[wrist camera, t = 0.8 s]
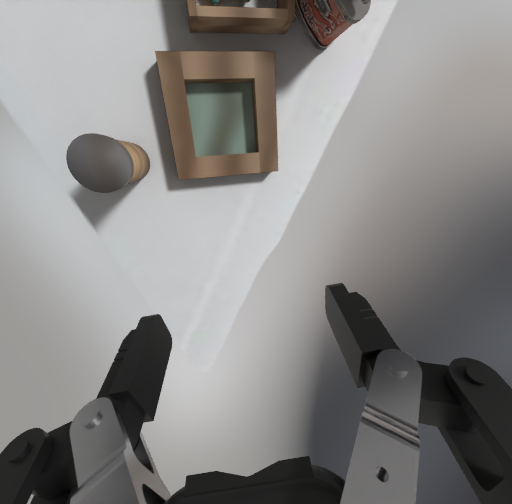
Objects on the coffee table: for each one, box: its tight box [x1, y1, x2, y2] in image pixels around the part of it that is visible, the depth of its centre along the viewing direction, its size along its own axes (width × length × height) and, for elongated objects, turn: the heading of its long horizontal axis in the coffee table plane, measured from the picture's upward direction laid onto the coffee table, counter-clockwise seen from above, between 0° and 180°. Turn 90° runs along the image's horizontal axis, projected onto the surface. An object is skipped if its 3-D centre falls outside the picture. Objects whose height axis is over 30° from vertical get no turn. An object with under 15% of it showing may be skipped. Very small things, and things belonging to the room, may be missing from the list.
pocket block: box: [155, 51, 278, 180], centre depth 30 cm, size 13×13×2 cm
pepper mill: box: [66, 134, 150, 193], centre depth 25 cm, size 5×5×11 cm
